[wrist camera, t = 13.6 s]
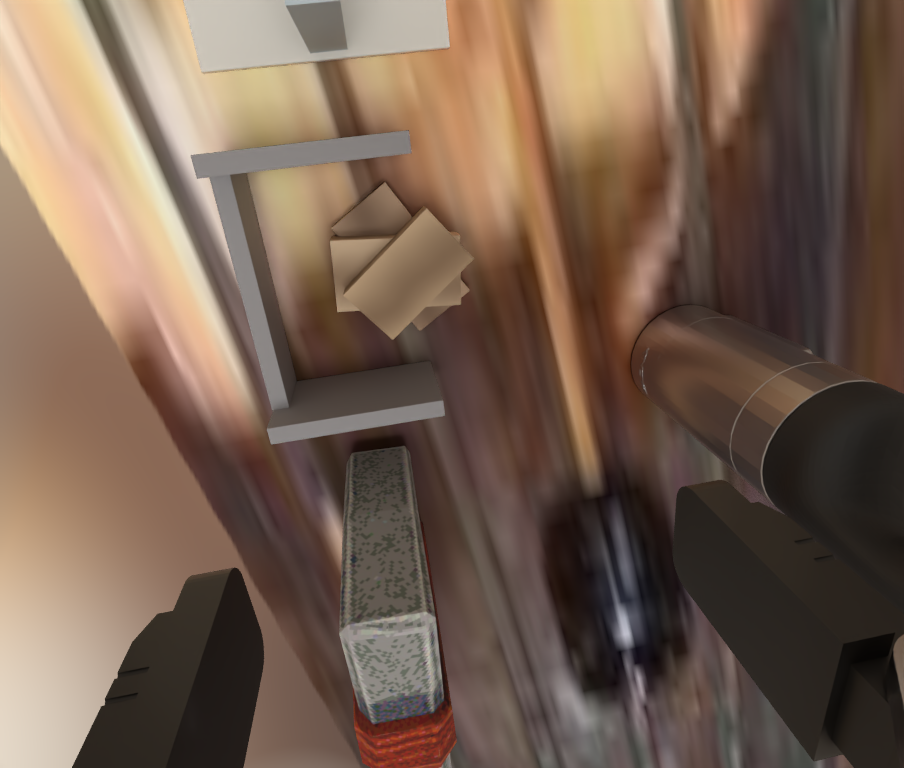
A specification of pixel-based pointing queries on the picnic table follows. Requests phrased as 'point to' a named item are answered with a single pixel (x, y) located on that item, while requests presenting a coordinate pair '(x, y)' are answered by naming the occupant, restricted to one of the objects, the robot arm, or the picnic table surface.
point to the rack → (293, 402)
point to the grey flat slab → (319, 24)
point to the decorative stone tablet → (392, 619)
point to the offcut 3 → (407, 273)
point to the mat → (279, 42)
